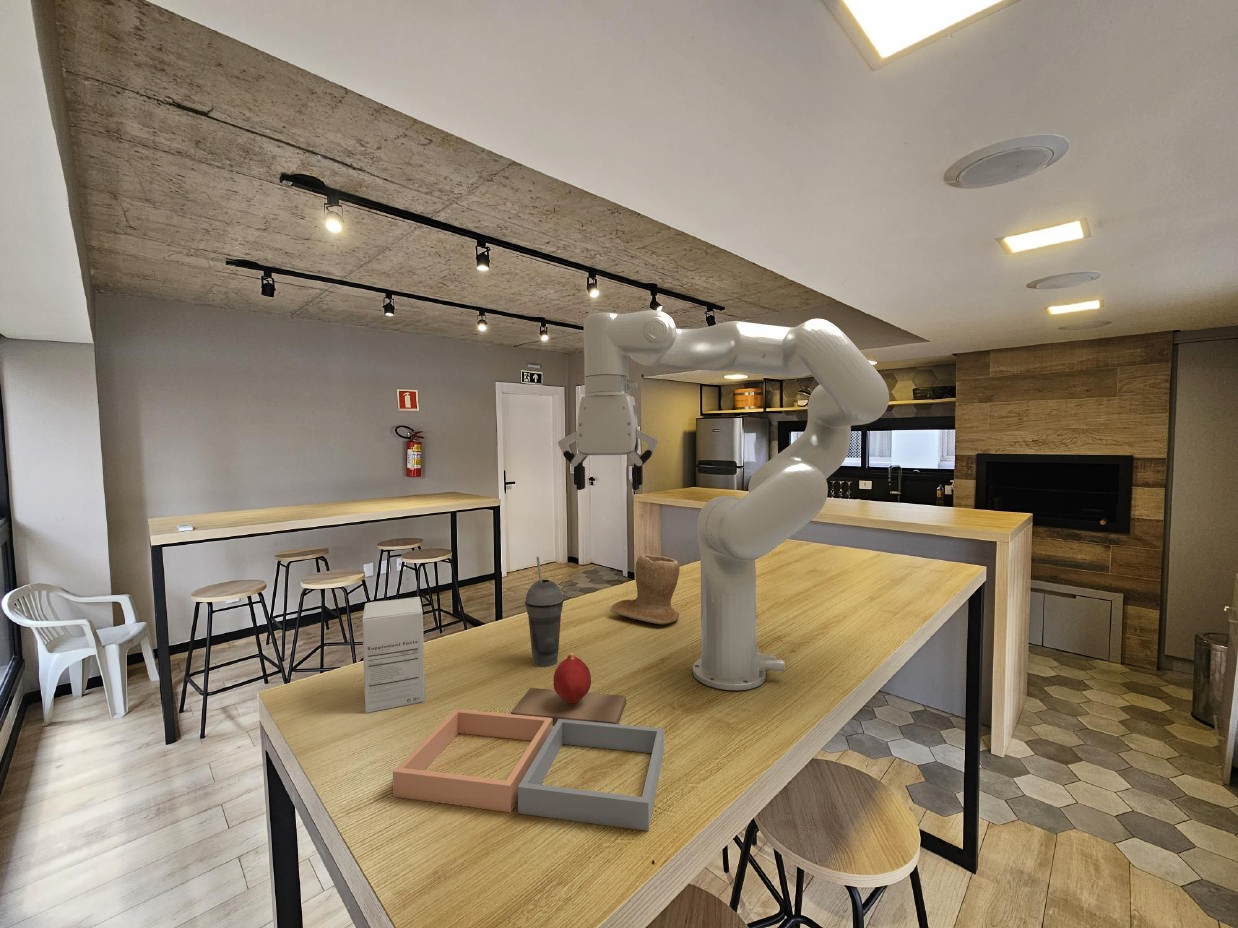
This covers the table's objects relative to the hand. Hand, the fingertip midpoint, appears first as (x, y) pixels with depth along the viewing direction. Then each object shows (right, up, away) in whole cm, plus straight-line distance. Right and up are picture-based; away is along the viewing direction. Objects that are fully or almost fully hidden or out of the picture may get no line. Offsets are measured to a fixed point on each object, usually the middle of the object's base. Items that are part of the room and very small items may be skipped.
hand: (608, 489), depth 88 cm
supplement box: (-35, -34, -3) cm, 49 cm away
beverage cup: (-12, -33, +10) cm, 37 cm away
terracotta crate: (-16, -34, -22) cm, 44 cm away
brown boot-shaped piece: (+9, -32, +34) cm, 48 cm away
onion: (-5, -33, -9) cm, 34 cm away
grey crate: (-1, -34, -25) cm, 42 cm away
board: (-6, -34, -9) cm, 35 cm away
